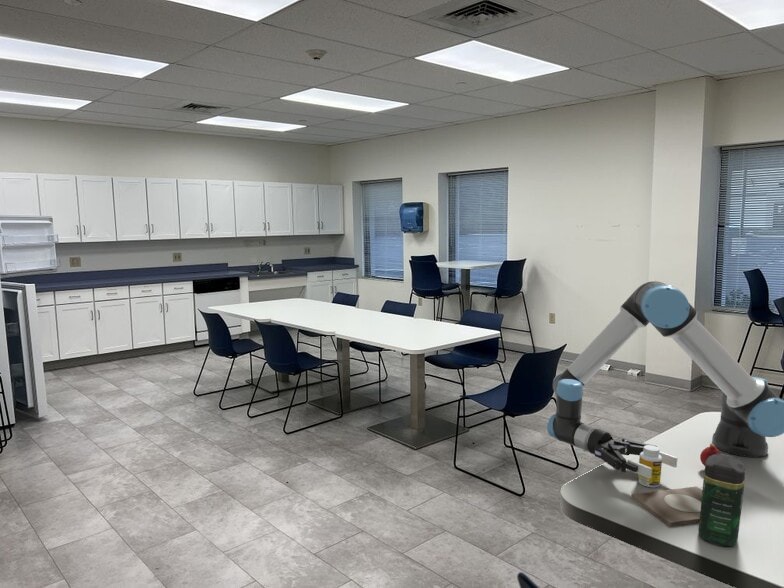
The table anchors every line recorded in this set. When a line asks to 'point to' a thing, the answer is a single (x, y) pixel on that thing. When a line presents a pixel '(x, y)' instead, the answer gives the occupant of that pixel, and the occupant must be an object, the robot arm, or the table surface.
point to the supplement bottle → (651, 466)
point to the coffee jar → (721, 499)
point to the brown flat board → (673, 505)
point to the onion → (708, 453)
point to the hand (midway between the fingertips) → (663, 467)
